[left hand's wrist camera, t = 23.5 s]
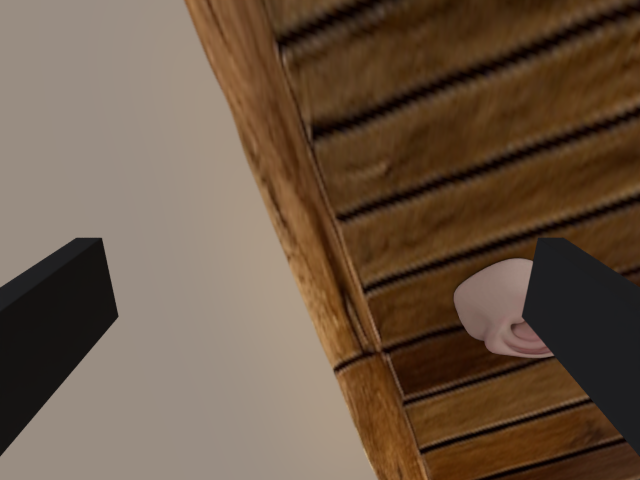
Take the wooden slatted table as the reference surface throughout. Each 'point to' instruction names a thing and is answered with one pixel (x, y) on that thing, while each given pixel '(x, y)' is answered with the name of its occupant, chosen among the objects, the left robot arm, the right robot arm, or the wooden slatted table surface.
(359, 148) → the wooden slatted table surface
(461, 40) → the wooden slatted table surface
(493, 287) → the anatomical model
